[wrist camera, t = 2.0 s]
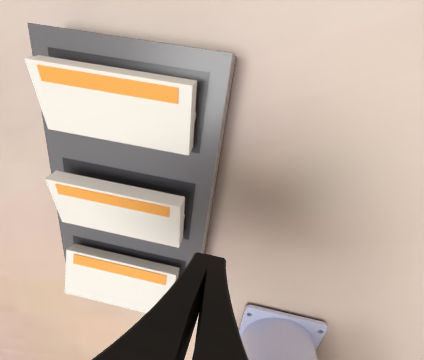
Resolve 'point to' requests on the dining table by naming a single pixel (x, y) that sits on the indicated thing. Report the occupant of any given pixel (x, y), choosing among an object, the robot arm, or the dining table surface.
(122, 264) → the rocker
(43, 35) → the switch panel
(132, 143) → the rocker
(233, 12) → the dining table surface
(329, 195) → the dining table surface
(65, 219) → the rocker middle
